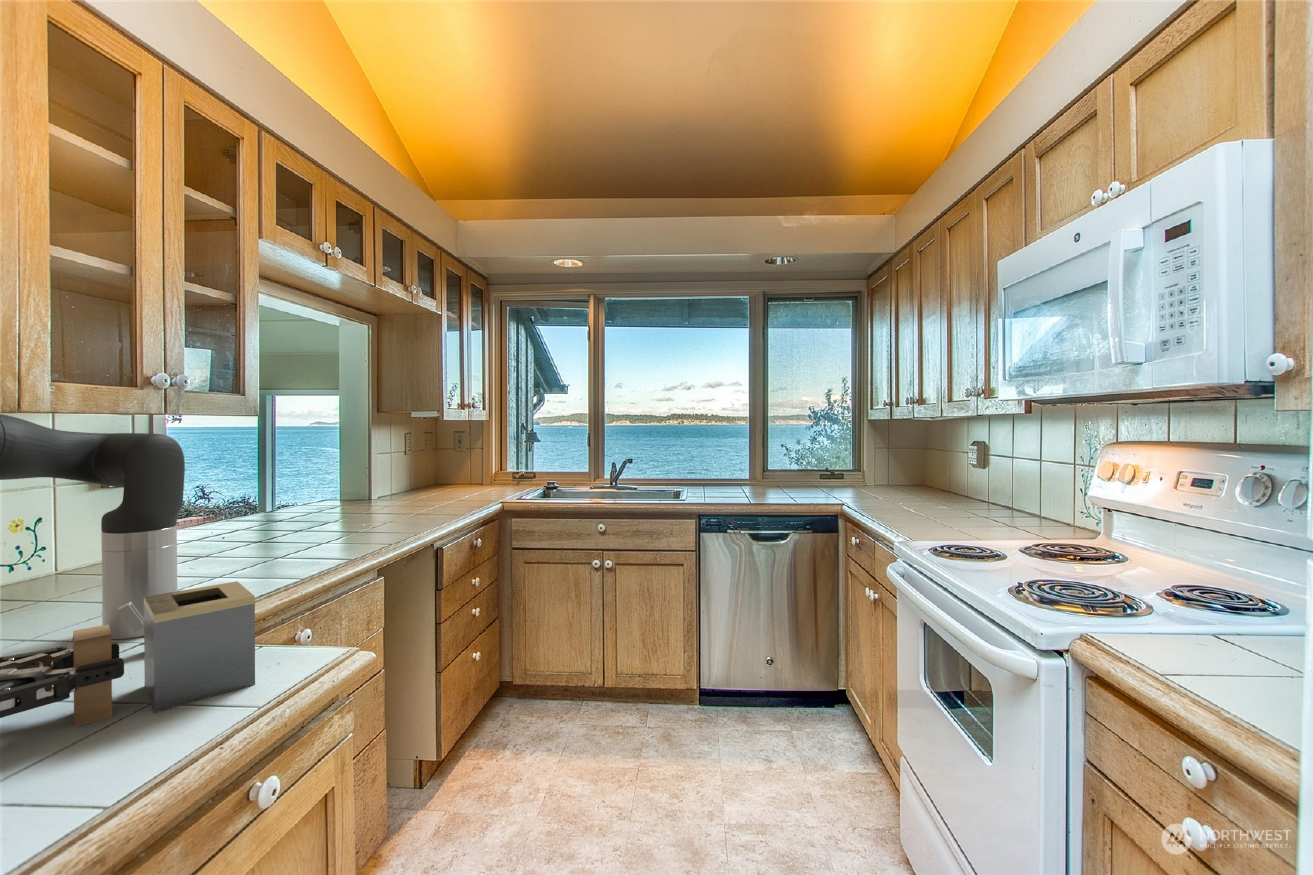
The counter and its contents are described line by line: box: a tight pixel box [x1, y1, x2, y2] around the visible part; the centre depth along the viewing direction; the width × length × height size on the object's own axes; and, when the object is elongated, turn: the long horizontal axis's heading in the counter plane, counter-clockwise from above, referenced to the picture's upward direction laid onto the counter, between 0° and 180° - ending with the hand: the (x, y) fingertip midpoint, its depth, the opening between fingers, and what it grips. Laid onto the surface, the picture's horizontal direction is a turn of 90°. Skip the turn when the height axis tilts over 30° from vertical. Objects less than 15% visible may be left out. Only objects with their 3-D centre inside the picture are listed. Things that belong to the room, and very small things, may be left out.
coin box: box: [143, 581, 256, 714], centre depth 73 cm, size 10×10×12 cm
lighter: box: [118, 602, 144, 632], centre depth 83 cm, size 7×2×8 cm, turn 127°
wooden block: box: [72, 624, 113, 728], centre depth 65 cm, size 4×3×10 cm, turn 49°
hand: (120, 658), depth 67 cm, fingers open, 6 cm apart
